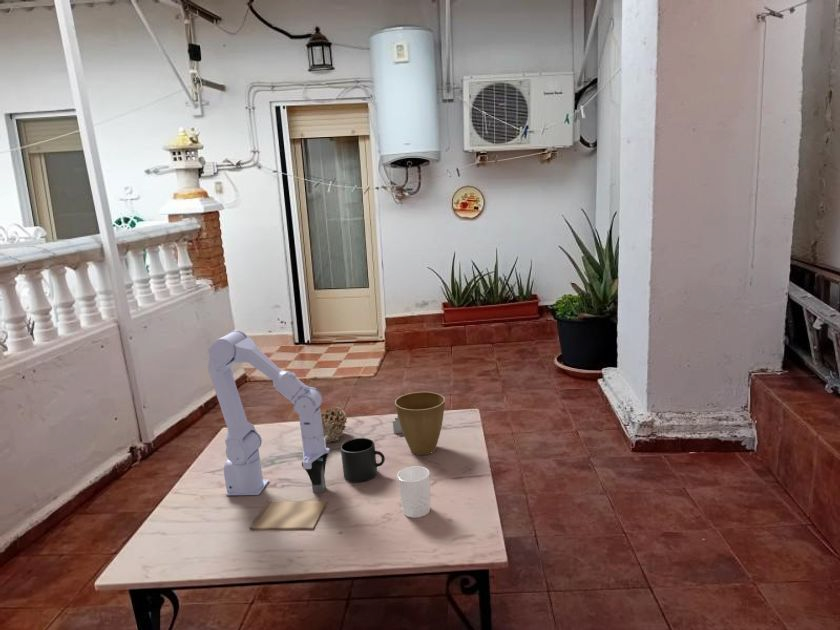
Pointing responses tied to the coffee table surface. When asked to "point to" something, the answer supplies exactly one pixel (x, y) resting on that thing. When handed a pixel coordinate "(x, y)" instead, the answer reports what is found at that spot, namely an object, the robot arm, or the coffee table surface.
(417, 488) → the white cup
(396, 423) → the lighter
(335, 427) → the pine cone
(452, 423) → the coffee table surface
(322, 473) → the teal block
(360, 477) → the mug
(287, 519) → the tan rectangular board
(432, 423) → the plant pot
